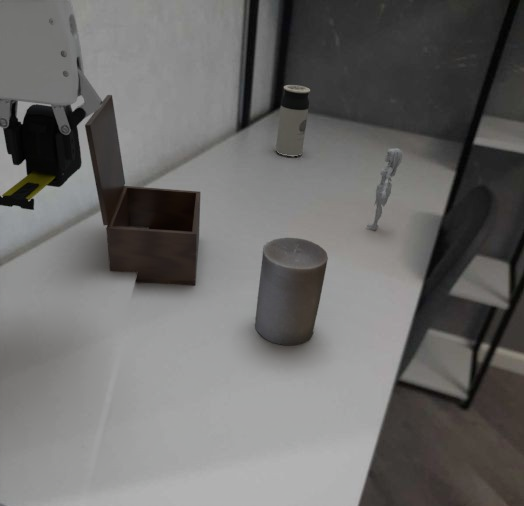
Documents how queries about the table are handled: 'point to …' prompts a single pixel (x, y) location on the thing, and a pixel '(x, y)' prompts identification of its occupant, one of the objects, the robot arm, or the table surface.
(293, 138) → the travel mug
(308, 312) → the pillar candle
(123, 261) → the desk box
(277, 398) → the table surface
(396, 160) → the human figurine
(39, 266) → the table surface
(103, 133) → the lid
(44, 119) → the tape measure
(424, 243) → the table surface
